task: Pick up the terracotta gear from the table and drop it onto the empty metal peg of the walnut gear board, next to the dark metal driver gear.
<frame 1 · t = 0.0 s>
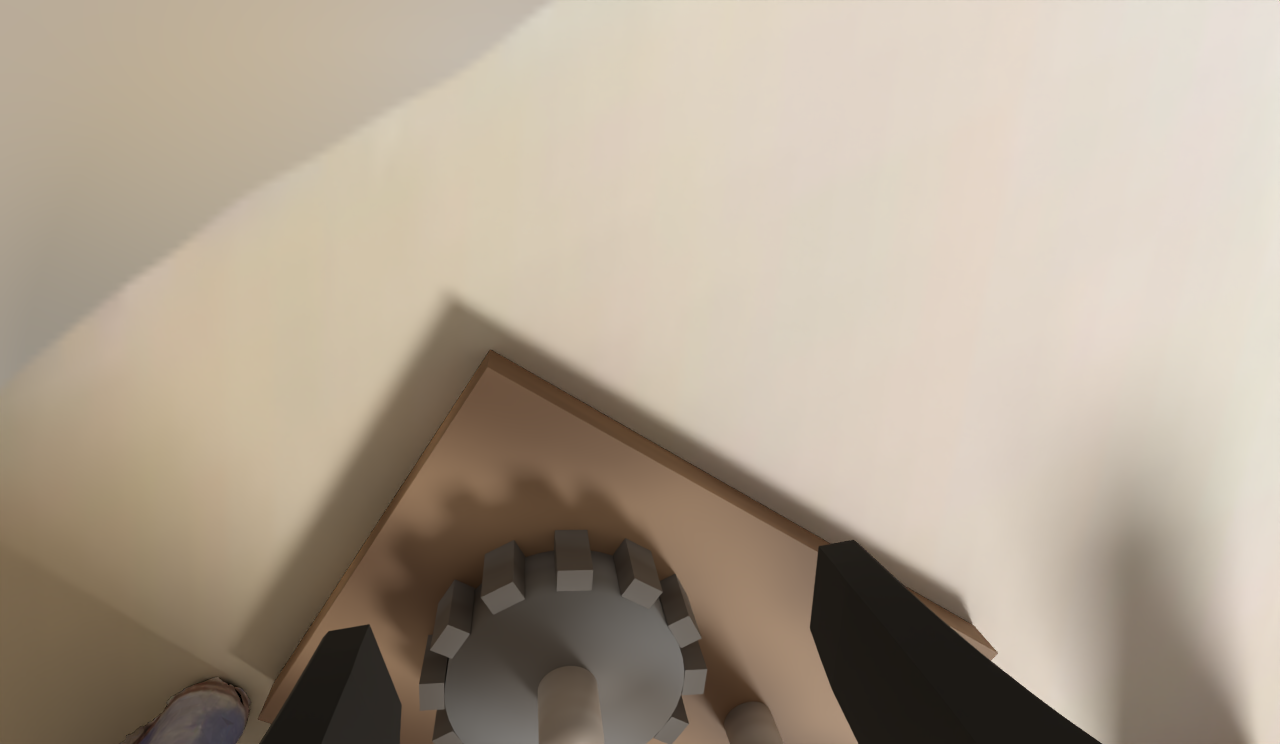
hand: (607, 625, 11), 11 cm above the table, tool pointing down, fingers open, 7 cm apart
gear board: (653, 651, 25), on the table
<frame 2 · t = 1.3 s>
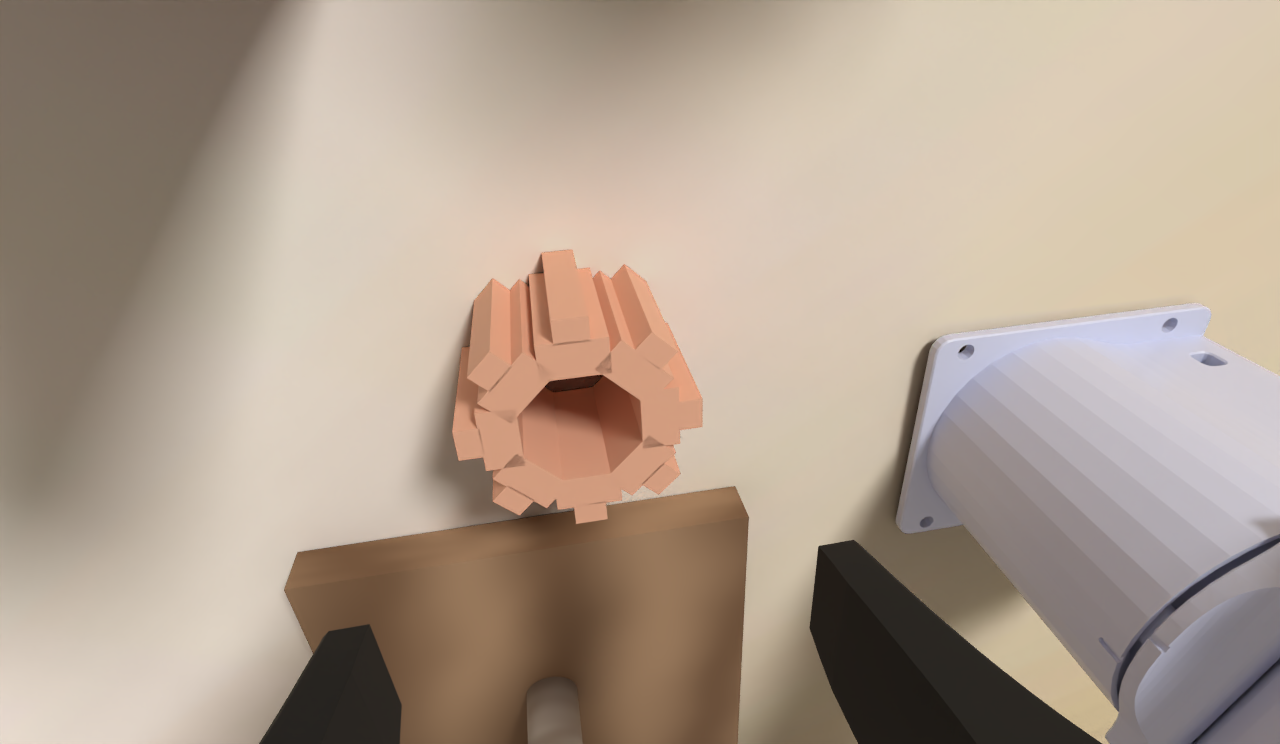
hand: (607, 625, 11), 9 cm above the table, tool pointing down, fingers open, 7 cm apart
gear board: (561, 719, 27), on the table
terracotta gear: (568, 347, 19), on the table
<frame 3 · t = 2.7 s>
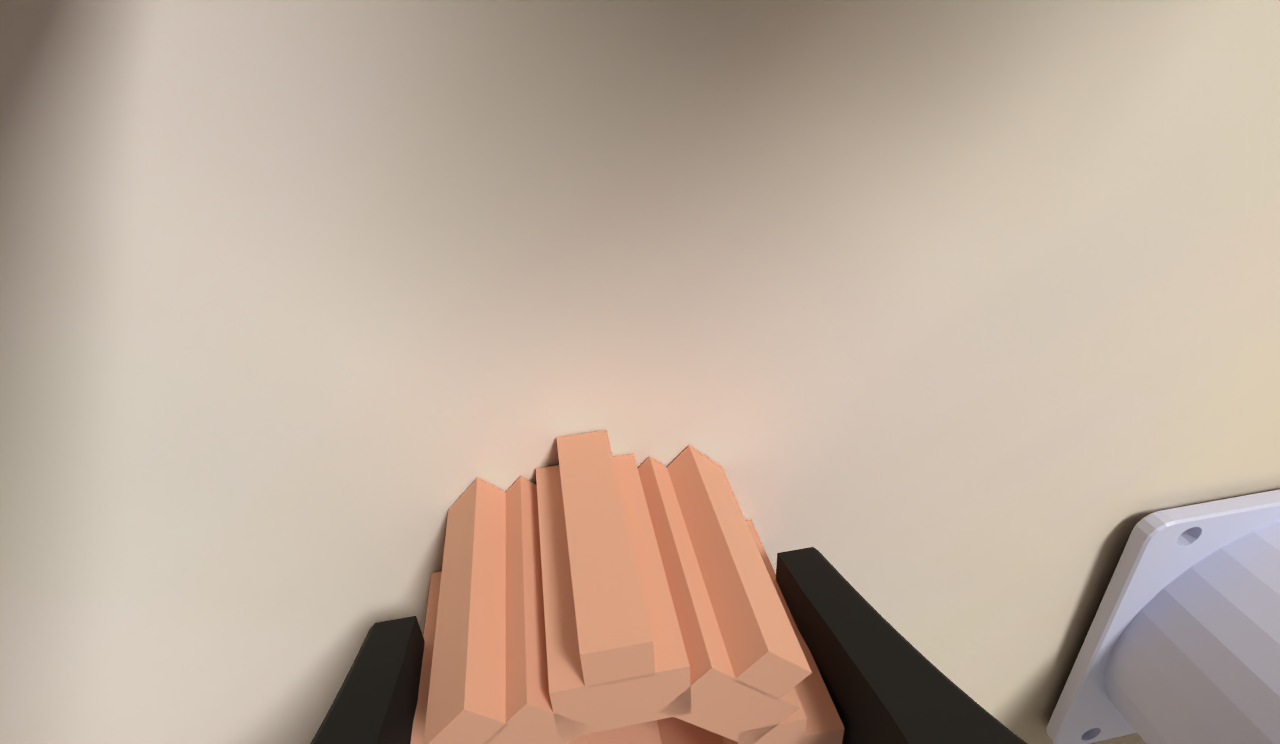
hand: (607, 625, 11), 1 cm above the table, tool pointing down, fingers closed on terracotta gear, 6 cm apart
terracotta gear: (597, 561, 12), on the table, touching gripper
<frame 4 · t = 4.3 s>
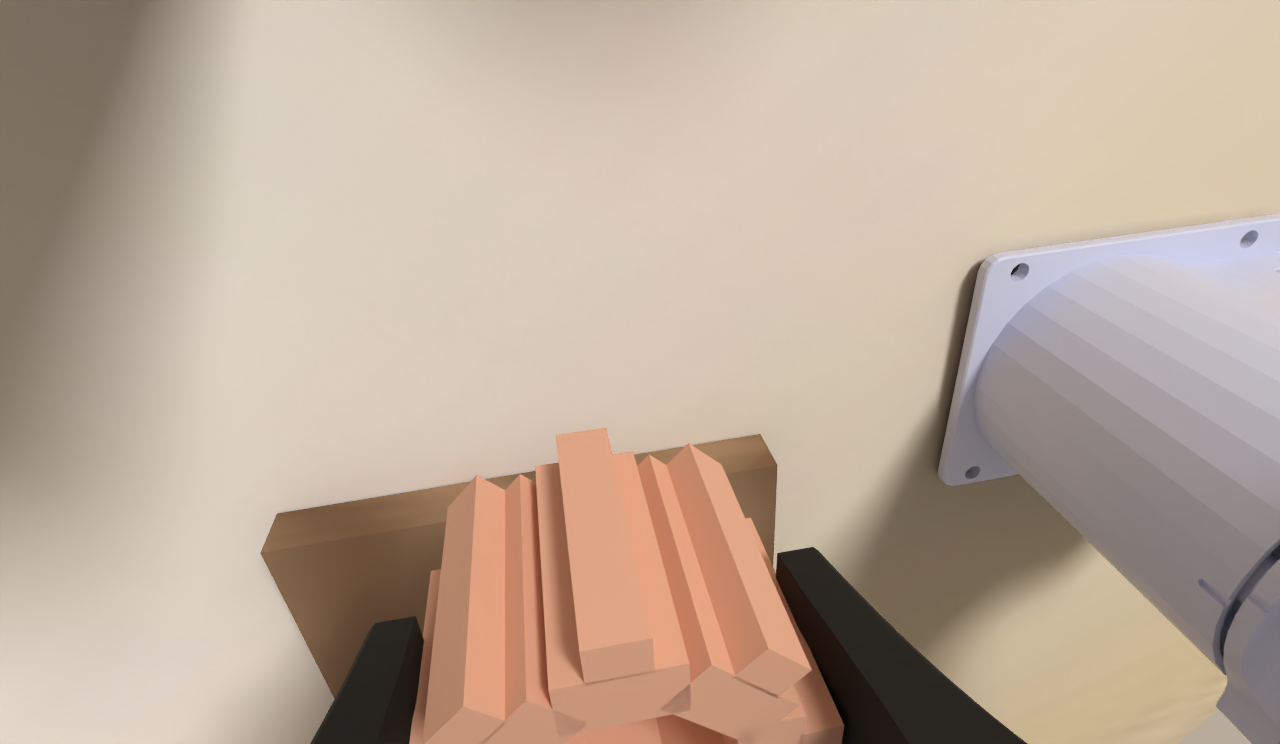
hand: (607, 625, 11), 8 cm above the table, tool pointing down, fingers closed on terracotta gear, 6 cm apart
gear board: (574, 700, 25), on the table
terracotta gear: (597, 559, 12), point 7 cm above the table, touching gripper
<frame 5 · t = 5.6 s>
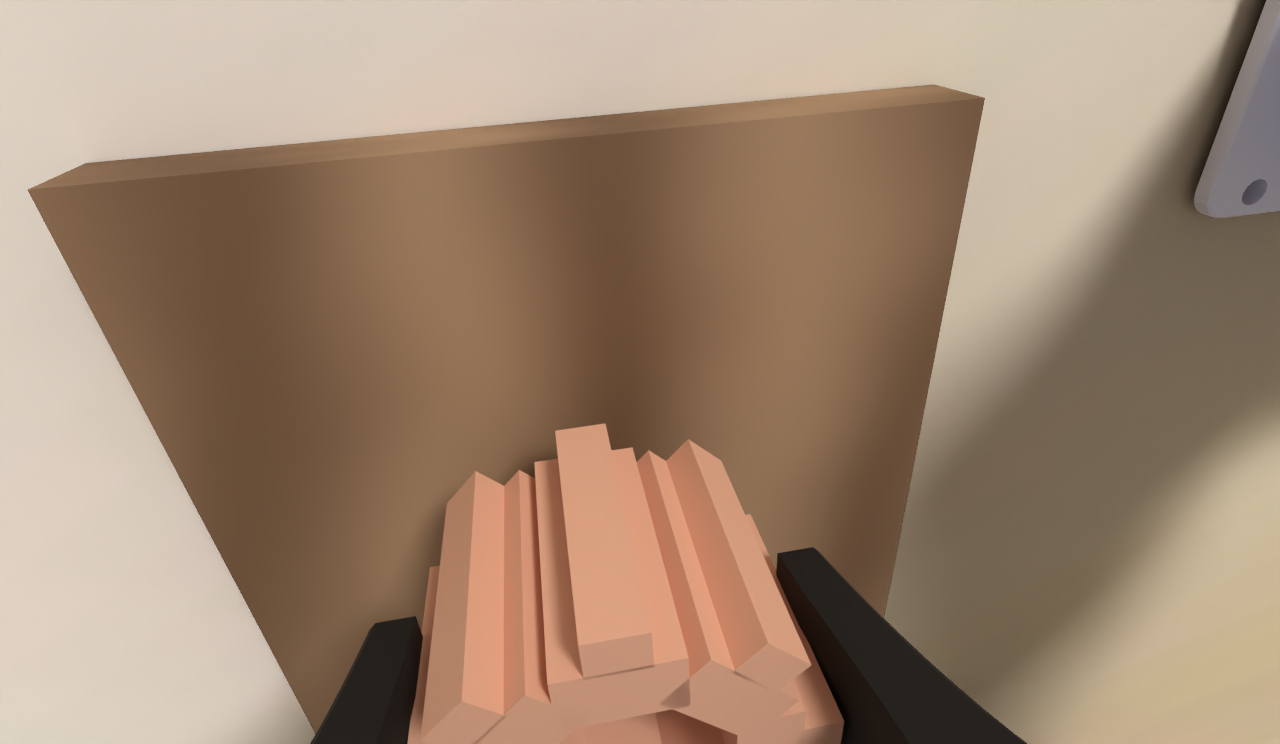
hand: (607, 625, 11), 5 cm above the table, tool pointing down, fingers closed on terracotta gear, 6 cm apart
gear board: (599, 580, 17), on the table
terracotta gear: (596, 556, 12), point 3 cm above the table, touching gripper
when the fingers open (4 cm above the table, at t = 6.3 s): terracotta gear stays where it is, resting on gear board.
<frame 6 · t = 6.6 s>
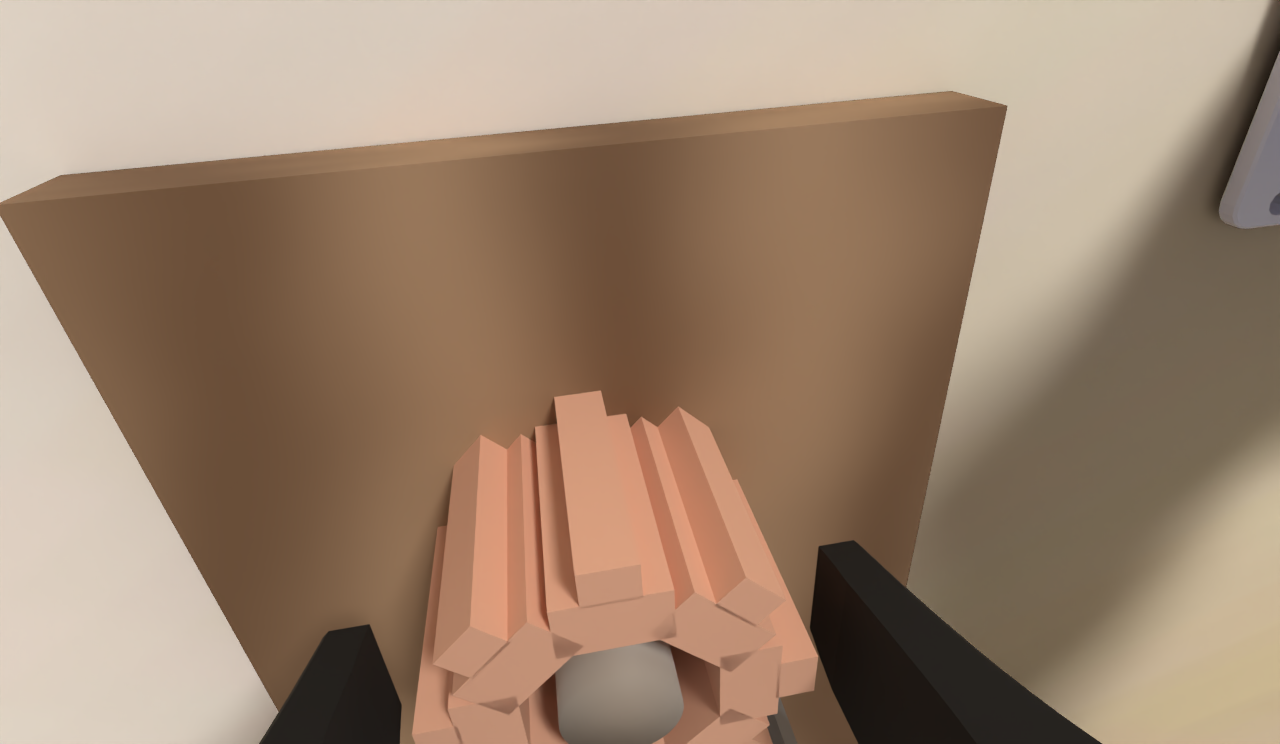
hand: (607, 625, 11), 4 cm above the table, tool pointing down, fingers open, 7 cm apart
gear board: (600, 602, 16), on the table
terracotta gear: (593, 518, 13), point 1 cm above the table, touching gear board
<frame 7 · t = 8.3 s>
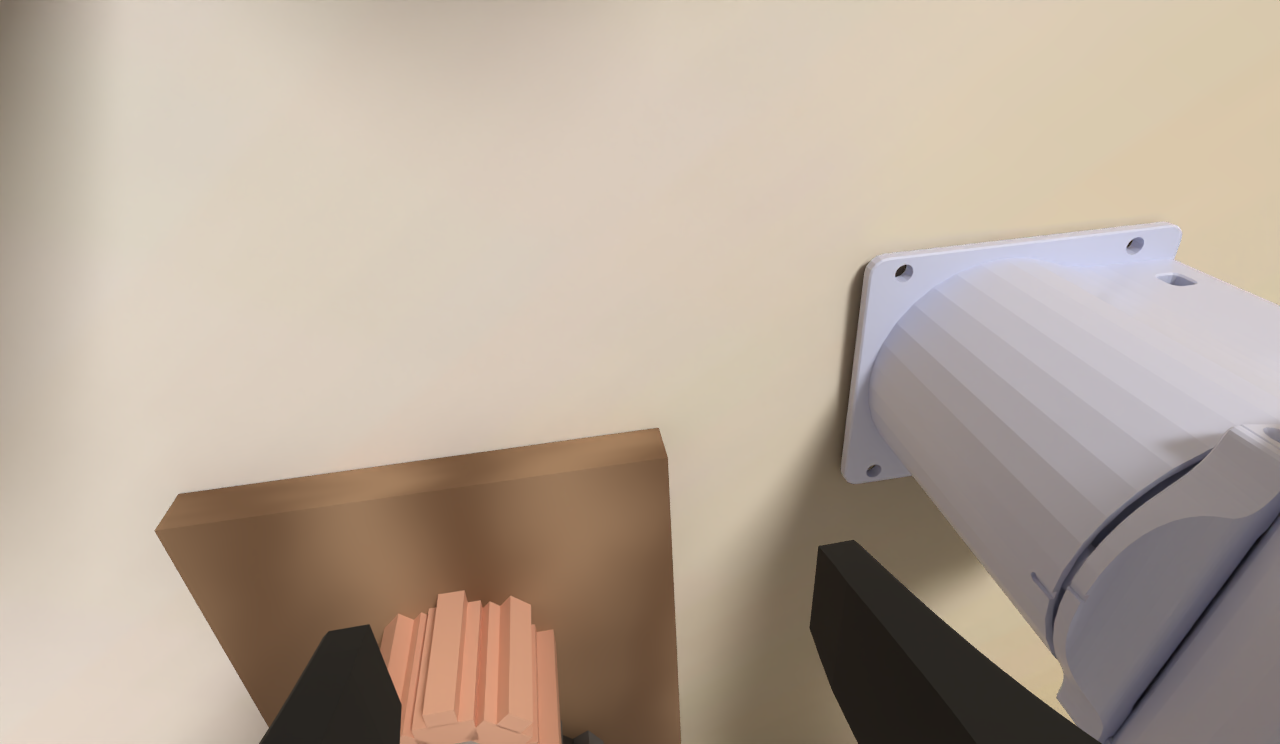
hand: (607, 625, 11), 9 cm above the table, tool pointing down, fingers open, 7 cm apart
gear board: (490, 687, 26), on the table
terracotta gear: (468, 651, 22), point 1 cm above the table, touching gear board
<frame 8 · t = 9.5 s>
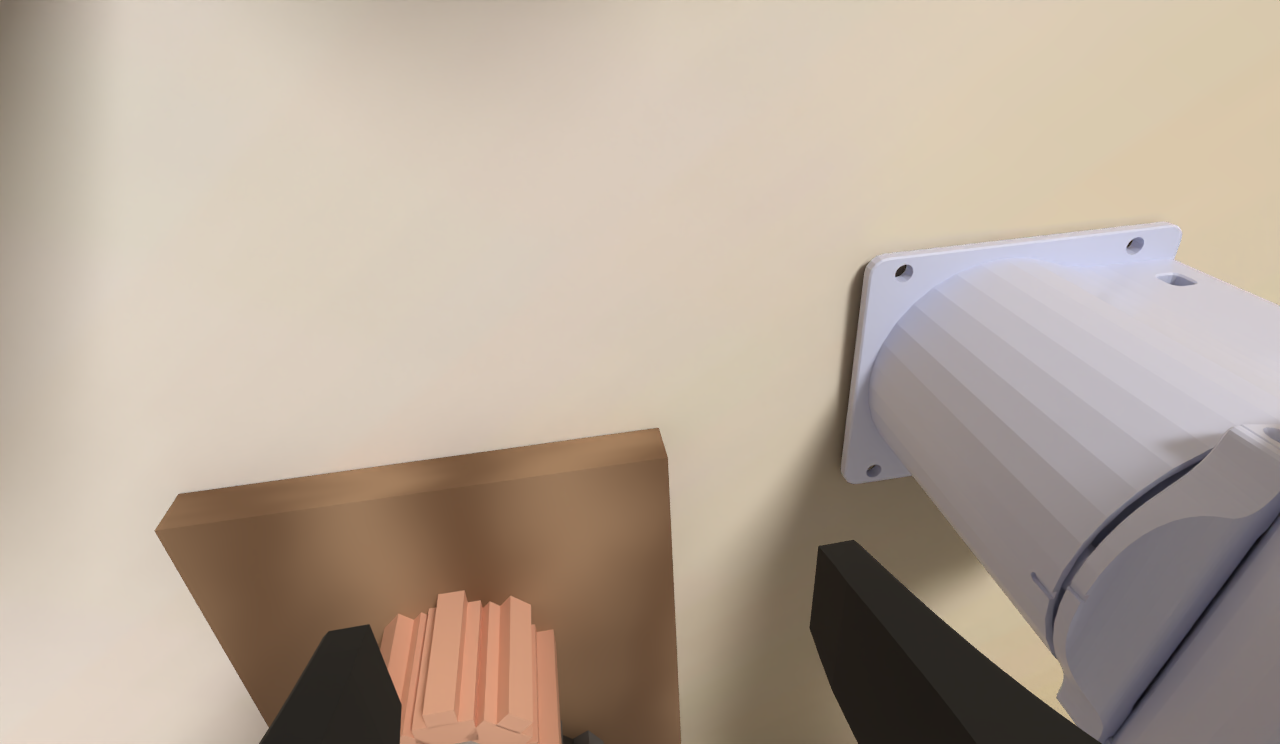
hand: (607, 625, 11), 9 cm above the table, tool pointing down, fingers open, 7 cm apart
gear board: (490, 687, 26), on the table
terracotta gear: (468, 651, 22), point 1 cm above the table, touching gear board
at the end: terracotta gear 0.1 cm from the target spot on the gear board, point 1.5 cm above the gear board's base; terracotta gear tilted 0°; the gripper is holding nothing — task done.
